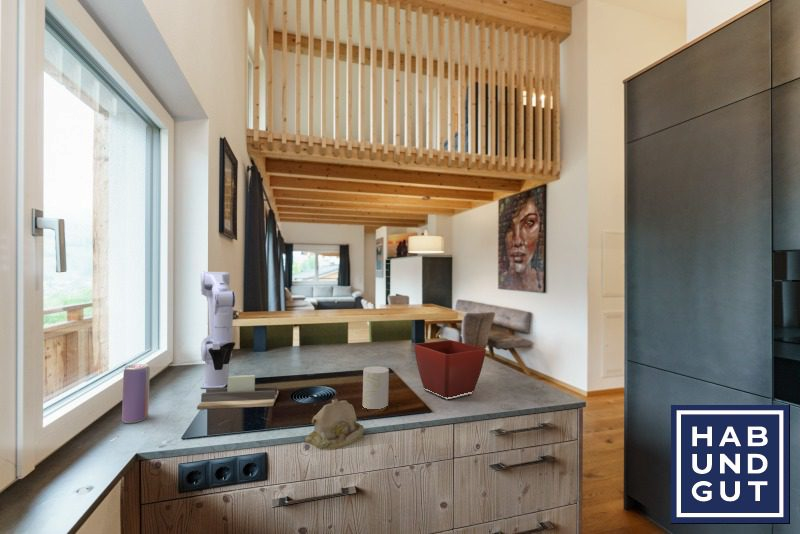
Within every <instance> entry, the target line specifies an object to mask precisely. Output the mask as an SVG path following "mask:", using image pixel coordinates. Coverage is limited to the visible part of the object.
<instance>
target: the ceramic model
mask: <svg viewBox="0 0 800 534" xmlns="http://www.w3.org/2000/svg"><path fill="white" fill-rule="evenodd" d="M357 419H358V418H357V415H356V411H355V408H354V406H353V404H352V403H349V402H348V400H339V401H338V399H337V398H334V399H332V400H331V403H327V404H325V405H323V407H321V409H320V410H319V411H318V412H317V413H316V415H314V416H313V417H312V419H311V424H312V425H314V427H313V431H311V432H310V433H309V434H308V435H307V436H306V437H305V438H304V440H305V442H306V443H309V444H311V445H313V446H314V447H316V448H317V449H318V450H319V449H320V450H337V449H339V448H342V447H346V446H348V445H349V444H352V443H355V442H357V441H359V440H360V439H362V437H363V435H364V432H365V427H364V425H363V424H361V423H359V422H357Z"/></svg>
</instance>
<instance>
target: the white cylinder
mask: <svg viewBox="0 0 800 534" xmlns="http://www.w3.org/2000/svg"><path fill="white" fill-rule="evenodd" d="M362 373H363V374H362V377H363V378H362V406H363V407H364V408H367V409H381V408H384V407H386V406H388V407H389V385H390V384H389V383H390V381H389V378H390V376H389V375H390V369H389V367H385V366H380V365H379V366H376V365H375V366H374V365H373V366H372V365H371V366H366V367H364V368H363V371H362Z"/></svg>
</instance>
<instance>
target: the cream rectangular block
mask: <svg viewBox="0 0 800 534" xmlns="http://www.w3.org/2000/svg"><path fill="white" fill-rule="evenodd" d="M255 385H256V374H246V375H244V374H243V375H228V384H227V387H226V388H227V392H241V391H255V387H256V386H255Z"/></svg>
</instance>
